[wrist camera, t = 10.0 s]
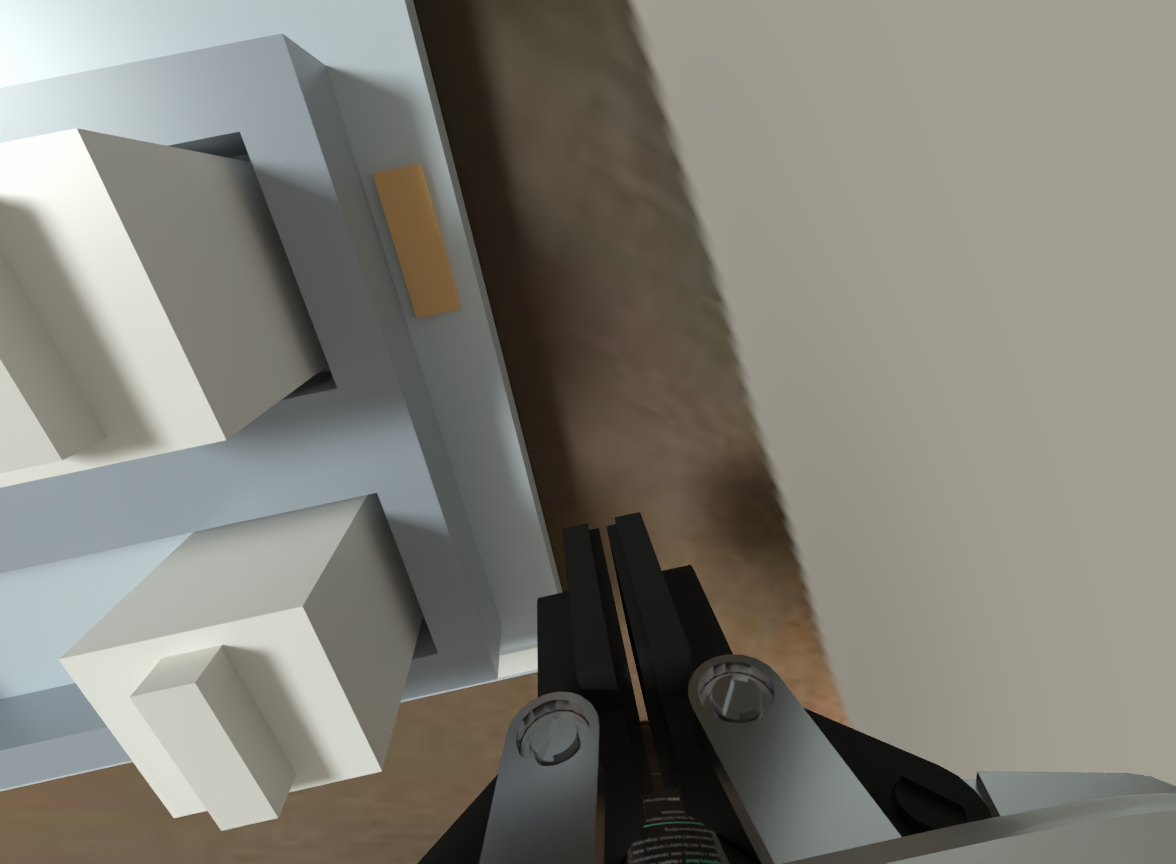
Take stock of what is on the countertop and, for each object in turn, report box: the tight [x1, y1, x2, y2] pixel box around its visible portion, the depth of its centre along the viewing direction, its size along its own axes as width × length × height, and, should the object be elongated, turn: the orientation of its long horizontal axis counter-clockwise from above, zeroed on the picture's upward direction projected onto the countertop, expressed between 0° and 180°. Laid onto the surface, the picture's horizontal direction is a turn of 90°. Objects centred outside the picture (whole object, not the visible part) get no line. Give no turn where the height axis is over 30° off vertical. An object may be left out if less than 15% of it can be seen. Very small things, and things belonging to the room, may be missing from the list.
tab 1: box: [0, 128, 328, 488], centre depth 9 cm, size 4×4×6 cm
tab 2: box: [58, 493, 424, 831], centre depth 12 cm, size 4×4×6 cm
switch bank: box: [0, 0, 563, 791], centre depth 13 cm, size 18×20×4 cm
